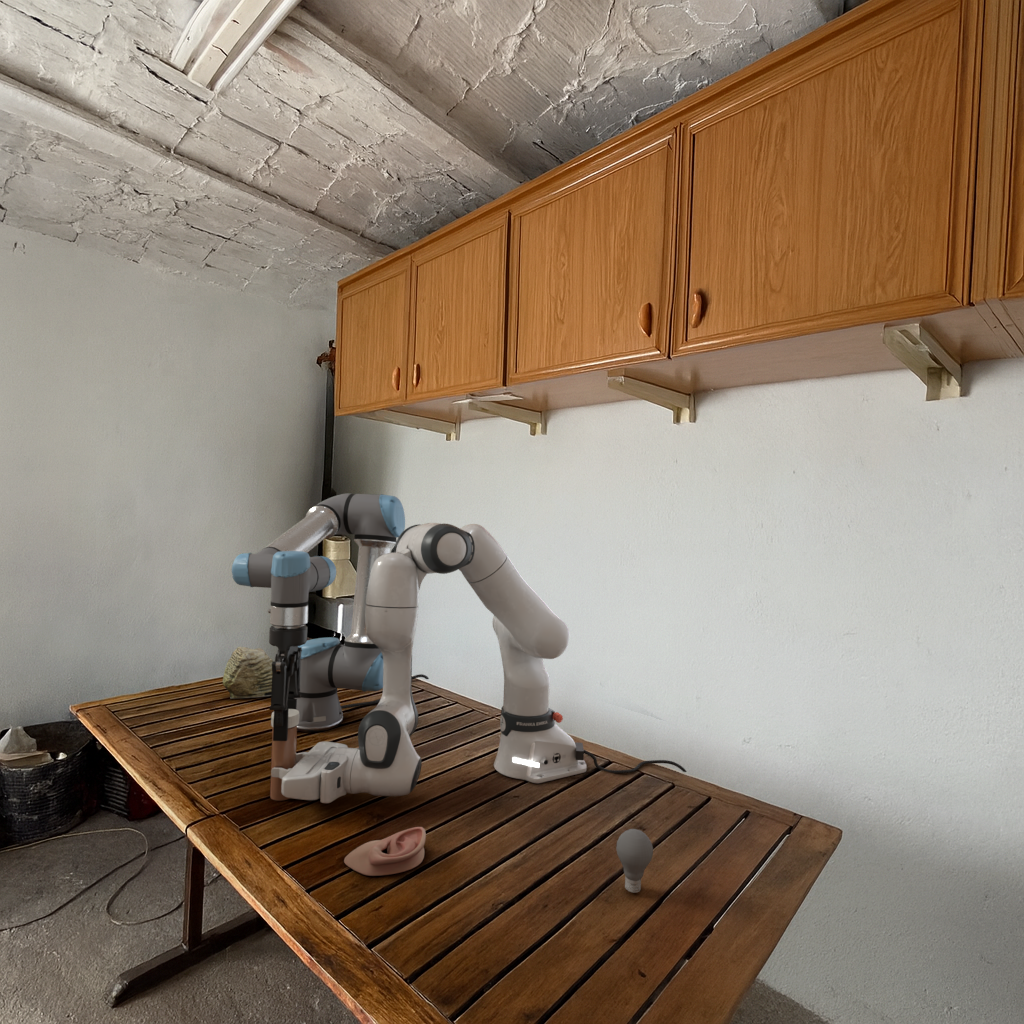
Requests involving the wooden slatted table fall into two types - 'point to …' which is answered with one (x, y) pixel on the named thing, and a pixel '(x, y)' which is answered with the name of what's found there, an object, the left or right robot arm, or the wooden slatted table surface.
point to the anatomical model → (389, 853)
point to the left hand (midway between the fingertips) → (284, 734)
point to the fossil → (248, 673)
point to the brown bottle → (282, 761)
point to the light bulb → (634, 857)
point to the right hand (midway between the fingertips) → (279, 764)
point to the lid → (289, 718)
